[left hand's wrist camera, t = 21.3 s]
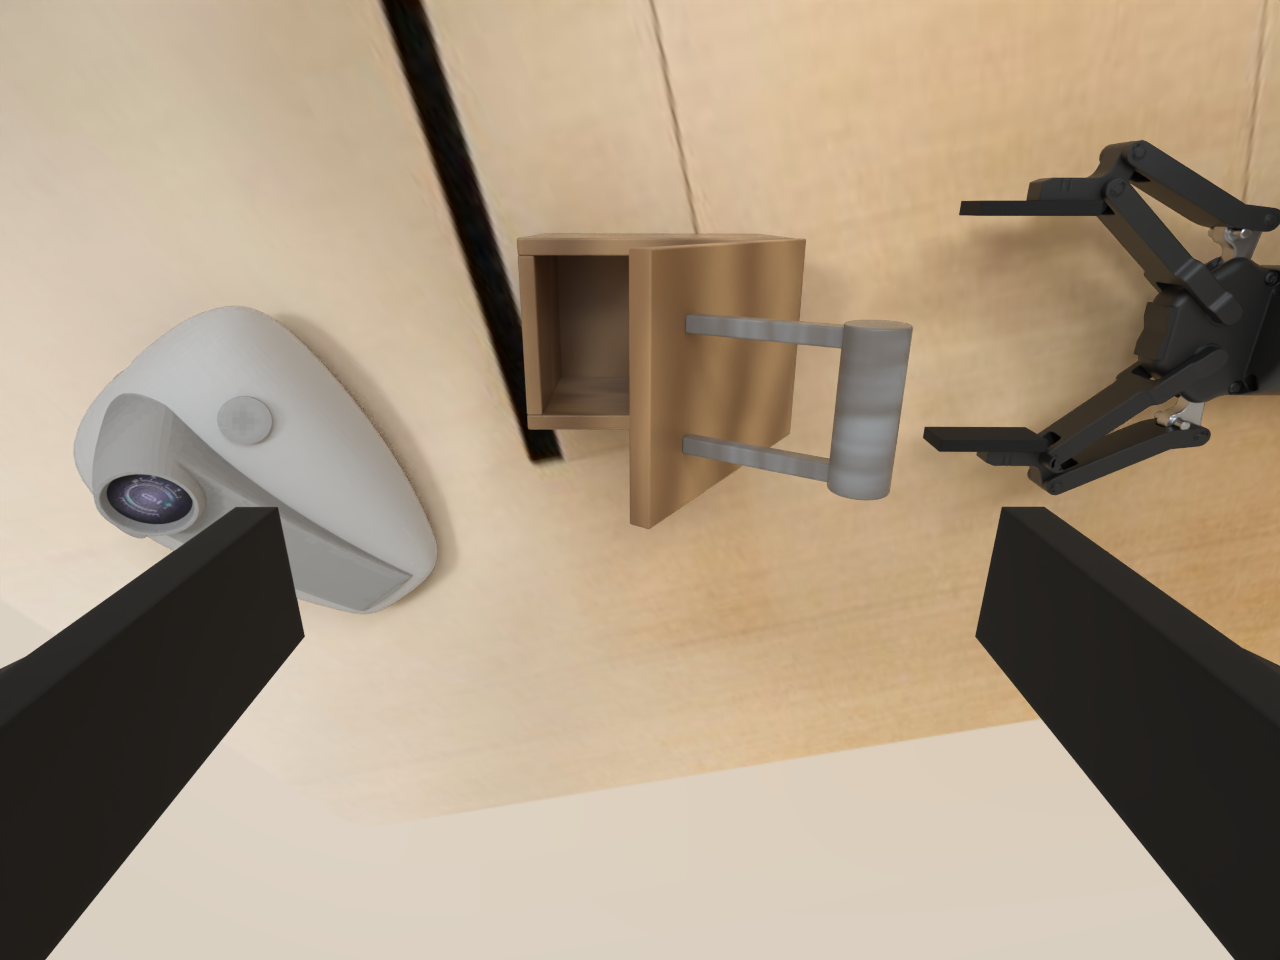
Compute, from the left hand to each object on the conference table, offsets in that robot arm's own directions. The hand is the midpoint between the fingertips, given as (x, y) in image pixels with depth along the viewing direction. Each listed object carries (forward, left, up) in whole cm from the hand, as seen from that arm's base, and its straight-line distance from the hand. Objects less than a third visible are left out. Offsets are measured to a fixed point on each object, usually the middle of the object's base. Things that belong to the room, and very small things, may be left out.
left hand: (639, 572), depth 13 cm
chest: (+1, 0, -37) cm, 37 cm away
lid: (+3, +1, -20) cm, 20 cm away
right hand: (+17, +7, -30) cm, 35 cm away
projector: (-18, -20, -37) cm, 46 cm away
